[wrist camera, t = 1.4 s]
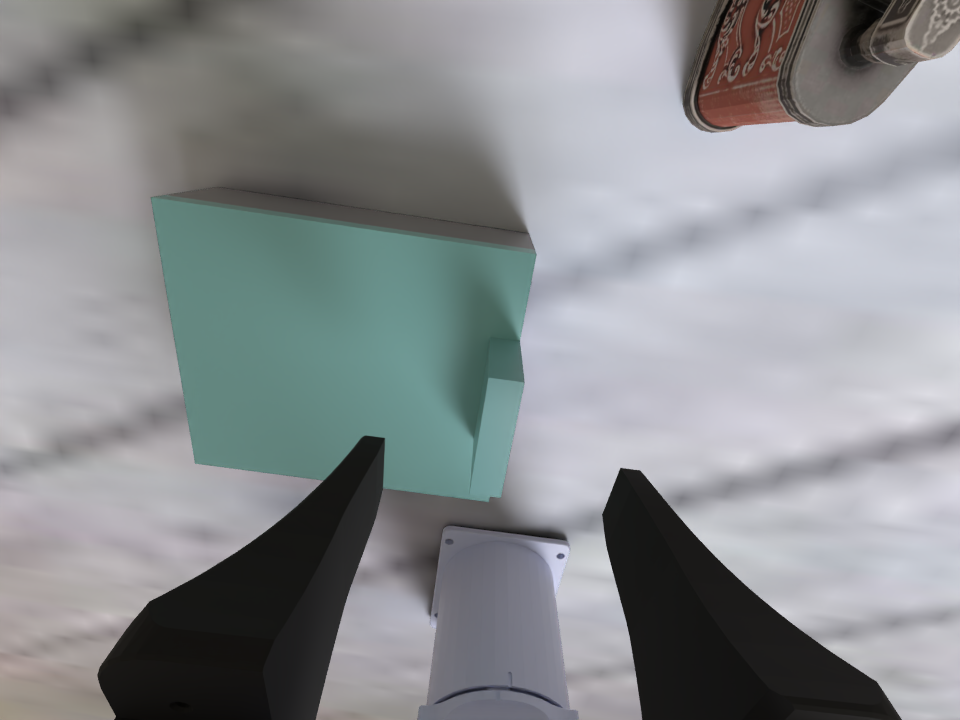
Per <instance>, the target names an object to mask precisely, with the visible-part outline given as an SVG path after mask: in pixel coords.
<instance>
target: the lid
mask: <svg viewBox="0 0 960 720" xmlns="http://www.w3.org/2000/svg"><path fill="white" fill-rule="evenodd" d="M151 202H152V208H153V214H154V220H155V226H156V232H157V238H158V244H159V250H160V256H161V262H162V268H163V274H164V280H165V286H166V292H167V298H168V304H169V310H170V316H171V322H172V328H173V334H174V340H175V346H176V352H177V358H178V364H179V370H180V376H181V382H182V388H183V394H184V400H185V406H186V412H187V418H188V424H189V430H190V436H191V442H192V448H193V454H194V460H195V464H202V465H210V466H218V467H225V468H233V469H241V470H248V471H256V472H263V473H271V474H279V475H286V476H294V477H302V478H309V479H317V480H325V479H326V478H327V477H328V476H329V475H330V474H331V472H332V471H333V470H334V469H335V468H336V467H337V466H338V465H339V464H340V463H341V462H342V460H343V459H344V458H345V457H346V456H347V455H348V454H349V452H350V451H351V450H352V449H353V448H354V446H355V445H356V444H357V443H358V441H359V440H360V439H361V438H362V437H363V436H365V435H367V436H374V437H382V438H385V454H384V477H383V488H385V489H393V490H401V491H408V492H416V493H424V494H431V495H439V496H446V497H454V498H462V499H469V500H477V501H485V502H489V498H490V496H491V497H498V498H501V494H502V489H503V485H504V480H505V475H506V470H507V465H508V460H509V456H510V451H511V446H512V441H513V436H514V431H515V427H516V422H517V417H518V412H519V407H520V402H521V398H522V393H523V388H524V383H525V382H524V373H523V365H522V356H521V347H520V337H521V332H522V327H523V322H524V317H525V311H526V306H527V301H528V296H529V291H530V285H531V280H532V275H533V270H534V265H535V260H536V251H535V250H534V249H527V248H520V247H514V246H507V245H500V244H493V243H487V242H480V241H473V240H466V239H459V238H453V237H446V236H439V235H432V234H426V233H419V232H412V231H405V230H399V229H392V228H385V227H378V226H372V225H365V224H358V223H351V222H345V221H338V220H331V219H324V218H317V217H311V216H304V215H297V214H290V213H284V212H277V211H270V210H263V209H257V208H250V207H243V206H236V205H230V204H223V203H216V202H209V201H203V200H196V199H189V198H182V197H175V196H169V195H162V196H156V197H151Z"/></svg>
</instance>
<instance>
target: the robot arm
mask: <svg viewBox="0 0 960 720" xmlns="http://www.w3.org/2000/svg"><path fill="white" fill-rule="evenodd" d="M384 454H385V438H382V437H374V436H367V435H365V436H363V437H362V438H361V439H360V440H359V441H358V443H357V444H356V445H355V446H354V448H353V449H352V450H351V451H350V452H349V454H348V455H347V456H346V457H345V458H344V459H343V460H342V462H341V463H340V464H339V465H338V466H337V467H336V468H335V469H334V470H333V471H332V472H331V474H330V475H329V476H328V477H327V478H326V479H325V480H324V481H323V482H322V483H321V484H320V485H319V486H318V487H317V488H316V489H315V490H314V491H313V492H312V493H311V494H309V495H308V496H307V497H306V498H305V499H304V500H303V501H302V502H301V503H300V504H299V505H298V506H296V507H295V508H294V509H293V510H292V511H291V512H290V513H288V514H287V515H286V516H285V517H284V518H282V519H281V520H280V521H279V522H277V523H276V524H275V525H274V526H272V527H271V528H270V529H268V530H267V531H266V532H264V533H263V534H262V535H260V536H259V537H257V538H256V539H255V540H253V541H252V542H251V543H249V544H248V545H246V546H245V547H243V548H242V549H241V550H239V551H238V552H236V553H234V554H233V555H231V556H230V557H228V558H226V559H225V560H223V561H222V562H220V563H218V564H217V565H215V566H214V567H212V568H210V569H209V570H207V571H206V572H204V573H202V574H201V575H199V576H197V577H195V578H194V579H192V580H190V581H188V582H186V583H184V584H182V585H180V586H179V587H177V588H175V589H173V590H171V591H169V592H167V593H165V594H163V595H162V596H160V597H158V598H156V599H154V600H152V601H150V602H149V603H148V604H147V605H146V607H145V608H144V609H143V610H142V611H141V612H140V614H139V615H138V616H137V617H136V618H135V619H134V620H133V622H132V623H131V624H130V626H129V627H128V628H127V629H126V631H125V632H124V634H123V635H122V636H121V638H120V639H119V641H118V642H117V643H116V645H115V646H114V648H113V649H112V651H111V652H110V653H109V655H108V656H107V658H106V659H105V661H104V662H103V663H102V665H101V666H100V668H99V672H98V680H99V683H100V687H101V689H102V691H103V693H104V695H105V697H106V699H107V700H108V702H109V704H110V706H111V708H112V710H113V711H114V713H115V715H116V718H115V719H114V720H316V715H317V711H318V707H319V703H320V699H321V695H322V691H323V687H324V683H325V679H326V675H327V671H328V667H329V663H330V659H331V655H332V651H333V648H334V644H335V640H336V636H337V632H338V628H339V625H340V621H341V617H342V613H343V610H344V606H345V603H346V599H347V596H348V593H349V590H350V587H351V584H352V582H353V579H354V576H355V574H356V571H357V568H358V565H359V563H360V560H361V557H362V555H363V552H364V549H365V546H366V544H367V541H368V538H369V535H370V533H371V530H372V527H373V524H374V521H375V519H376V515H377V511H378V507H379V502H380V498H381V494H382V490H383V477H384ZM602 516H603V524H604V532H605V539H606V546H607V550H608V554H609V558H610V562H611V566H612V570H613V574H614V577H615V581H616V585H617V588H618V592H619V596H620V600H621V603H622V607H623V611H624V614H625V618H626V622H627V627H628V631H629V635H630V641H631V647H632V653H633V659H634V665H635V671H636V677H637V684H638V691H639V698H640V705H641V712H642V720H902V719H901V718H900V716H899V715H898V713H897V712H896V710H895V709H894V707H893V706H892V704H891V703H890V701H889V700H888V698H887V696H886V695H885V693H884V692H883V690H882V689H881V687H880V686H879V685H878V683H877V682H876V681H874V680H873V679H871V678H870V677H868V676H867V675H865V674H864V673H862V672H861V671H859V670H858V669H856V668H855V667H853V666H852V665H850V664H849V663H847V662H846V661H844V660H842V659H841V658H839V657H838V656H836V655H835V654H833V653H832V652H830V651H829V650H827V649H826V648H825V647H823V646H822V645H820V644H819V643H818V642H816V641H815V640H814V639H812V638H811V637H809V636H808V635H807V634H805V633H804V632H803V631H801V630H800V629H798V628H797V627H796V626H795V625H793V624H792V623H791V622H789V621H788V620H787V619H785V618H784V617H783V616H782V615H780V614H779V613H778V612H777V611H775V610H774V609H773V608H772V607H771V606H769V605H768V604H767V603H766V602H764V601H763V600H762V599H761V598H760V597H758V596H757V595H756V594H755V593H754V592H753V591H751V590H750V589H749V588H748V587H747V586H746V585H745V584H744V583H742V582H741V581H740V580H739V579H738V578H737V577H736V576H735V575H734V574H733V573H732V572H731V571H730V570H728V569H727V568H726V567H725V566H724V565H723V564H722V563H721V562H720V561H719V560H718V559H717V558H716V557H715V556H714V555H713V554H712V553H711V552H710V551H709V550H708V549H707V547H706V546H705V545H704V544H703V543H702V542H701V541H700V540H699V539H698V538H697V537H696V536H695V535H694V534H693V532H692V531H691V530H690V529H689V528H688V527H687V526H686V525H685V523H684V522H683V521H682V520H681V519H680V518H679V517H678V515H677V514H676V513H675V512H674V511H673V509H672V508H671V507H670V506H669V505H668V503H667V502H666V501H665V500H664V499H663V497H662V496H661V495H660V494H659V493H658V491H657V490H656V489H655V488H654V486H653V485H652V484H651V483H650V482H649V480H648V479H647V478H646V477H645V476H644V475H643V473H642V472H641V471H640V470H632V469H624V468H620V471H619V473H618V476H617V478H616V481H615V483H614V486H613V489H612V491H611V494H610V496H609V499H608V501H607V504H606V507H605V509H604V512H603V514H602ZM448 539H452V540H448ZM559 553H562V554H559ZM569 553H570V545H569V543H568V542H567V541H564V540H558V539H550V538H542V537H534V536H527V535H519V534H511V533H503V532H496V531H488V530H480V529H472V528H465V527H457V526H447V527H445V528H444V529H443V532H442V539H441V547H440V554H439V561H438V568H437V575H436V582H435V589H434V596H433V604H432V611H431V618H430V626H431V627H432V628H435V629H436V633H435V641H434V649H433V657H432V665H431V673H430V681H429V688H428V696H427V704H426V705H422V706H420V707H419V711H418V718H417V720H579V716H578V711H576V710H570V705H569V698H568V690H567V682H566V674H565V667H564V659H563V651H562V643H561V636H560V628H559V620H558V612H557V605H556V594H557V591H558V588H559V585H560V581H561V578H562V575H563V572H564V569H565V566H566V562H567V559H568V556H569Z"/></svg>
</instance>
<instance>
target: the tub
mask: <svg viewBox="0 0 960 720" xmlns="http://www.w3.org/2000/svg"><path fill="white" fill-rule="evenodd" d="M169 196H175V197H182V198H189V199H196V200H203V201H209V202H216V203H223V204H230V205H236V206H243V207H250V208H257V209H263V210H270V211H277V212H284V213H290V214H297V215H304V216H311V217H317V218H324V219H331V220H338V221H345V222H351V223H358V224H365V225H372V226H378V227H385V228H392V229H399V230H405V231H412V232H419V233H426V234H432V235H439V236H446V237H453V238H459V239H466V240H473V241H480V242H487V243H493V244H500V245H507V246H514V247H520V248H527V249H534V246H533V243H532V240H531V237H530V235H529V233H523V232H516V231H510V230H503V229H496V228H489V227H483V226H476V225H469V224H463V223H456V222H449V221H442V220H436V219H429V218H422V217H416V216H409V215H402V214H395V213H389V212H382V211H375V210H369V209H362V208H355V207H348V206H342V205H335V204H328V203H322V202H315V201H308V200H301V199H295V198H288V197H281V196H275V195H268V194H261V193H254V192H248V191H241V190H234V189H228V188H221V187H214V188H208V189H201V190H195V191H188V192H182V193H175V194H169ZM534 250H535V249H534Z"/></svg>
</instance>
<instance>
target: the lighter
mask: <svg viewBox="0 0 960 720" xmlns="http://www.w3.org/2000/svg"><path fill="white" fill-rule="evenodd" d="M959 41H960V0H718V1H717V4H716V6H715V9H714V11H713V13H712V16H711V18H710V21H709V23H708V26H707V28H706V30H705V33H704V35H703V38H702V40H701V42H700V45H699V47H698V50H697V54H696V57H695V60H694V63H693V67H692V70H691V73H690V76H689V80H688V83H687V86H686V89H685V93H684V100H683V107H684V111H685V115H686V117H687V118H688V120H689V121H690V123H691V124H692V125H694V126H695V127H696V128H698V129H699V130H702V131H706V132H711V133H712V132H725V131H732V130H734V129H737V128H739V127H741V126H743V125H754V124H767V123H780V122H793V121H797V122H798V123H800V124H804V125H808V126H813V127H823V126H837V125H845V124H851V123H853V122H856V121H858V120H860V119H862V118H864V117H867V116H868V115H870V114H871V113H872V112H873V111H874V110H875V109H877V108H878V107H879V106H880V105H881V104H882V103H883V102H884V101H885V100H886V99H887V98H888V97H889V95H890V94H891V93H892V92H893V91H894V90H895V89H896V87H897V86H898V85H899V84H900V83H901V82H902V80H903V79H904V78H905V77H906V76H907V75H908V74H909V72H910V71H911V70H912V69H913V68H914V67H915V65H916V64H917V63H918V62H921V61H926V60H931V59H936V58H940V57H943V56H944V55H946V54H947V53H949V52H950V51H951V50H952V49H953V48H954V47H955V46H956V44H957V43H958V42H959Z"/></svg>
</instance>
